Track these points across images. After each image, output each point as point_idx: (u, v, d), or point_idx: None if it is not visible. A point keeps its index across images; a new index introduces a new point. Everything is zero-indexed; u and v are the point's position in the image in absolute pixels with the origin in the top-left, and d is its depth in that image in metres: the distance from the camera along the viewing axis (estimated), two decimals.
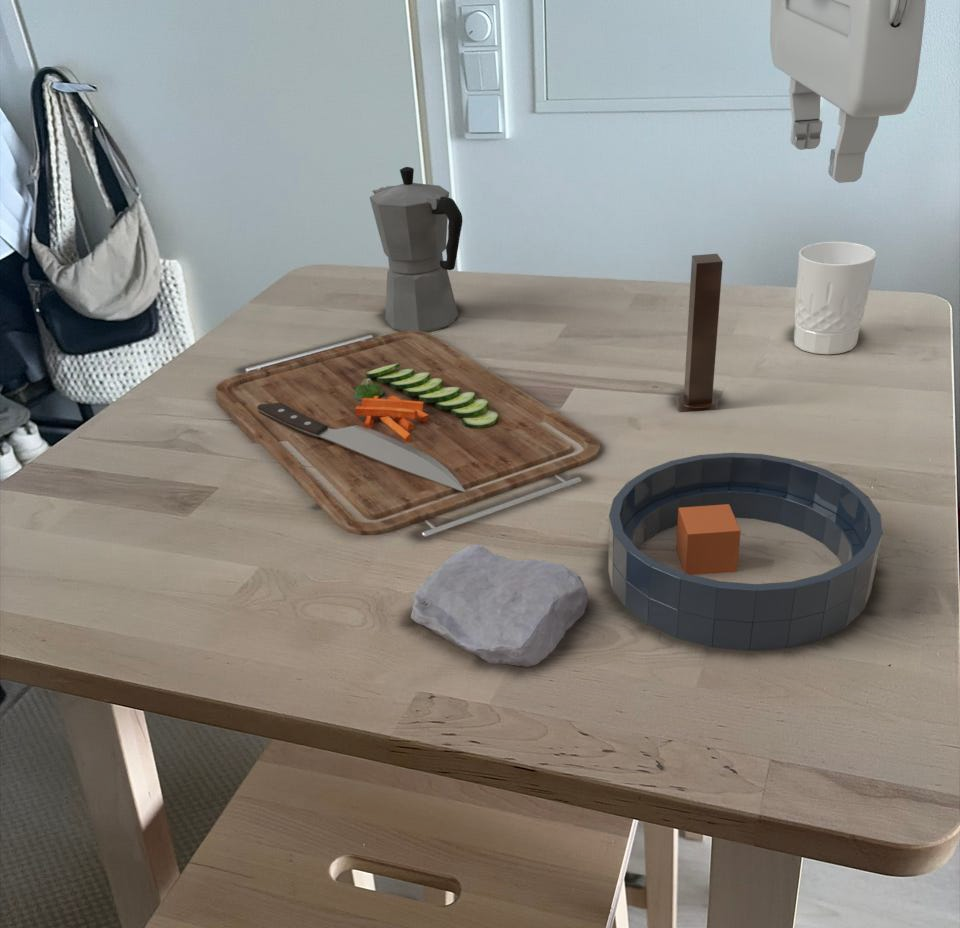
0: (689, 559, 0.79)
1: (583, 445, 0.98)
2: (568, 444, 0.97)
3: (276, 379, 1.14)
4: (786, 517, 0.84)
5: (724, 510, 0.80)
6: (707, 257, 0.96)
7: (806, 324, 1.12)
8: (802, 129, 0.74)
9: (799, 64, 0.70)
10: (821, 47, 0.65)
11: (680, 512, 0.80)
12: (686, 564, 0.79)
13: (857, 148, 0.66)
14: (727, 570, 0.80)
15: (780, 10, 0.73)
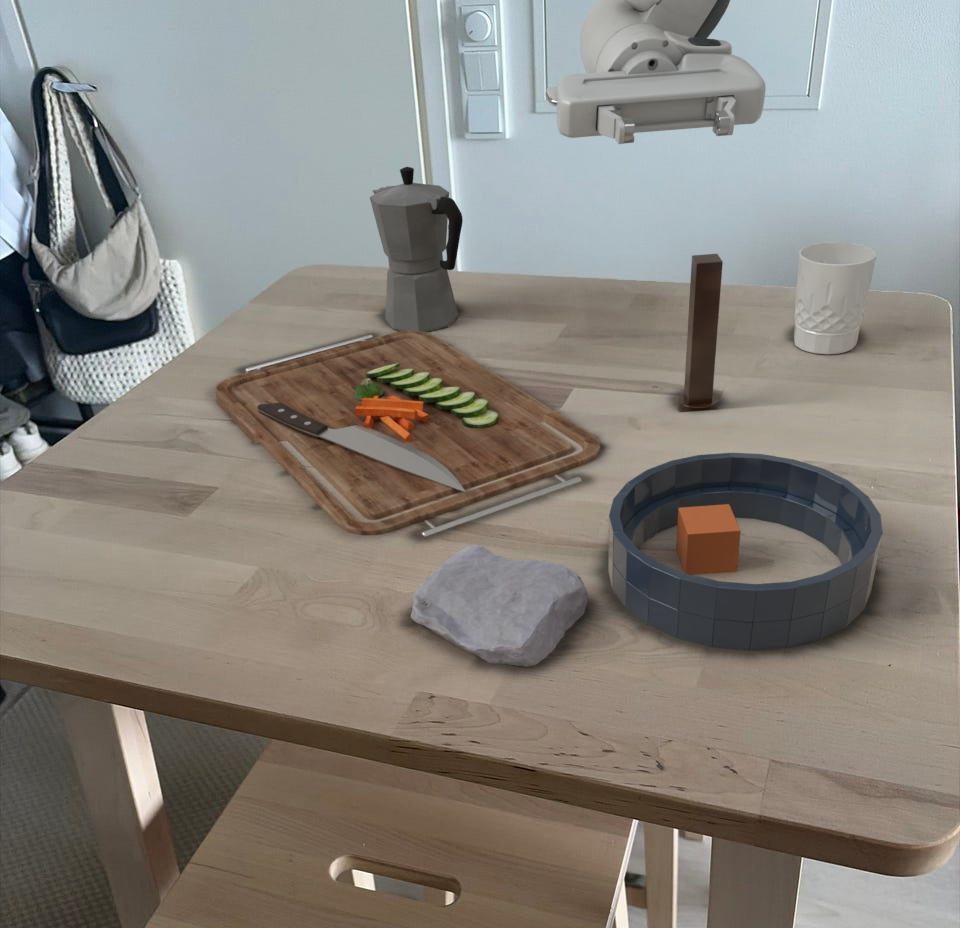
0: (689, 559, 0.79)
1: (583, 445, 0.98)
2: (568, 444, 0.97)
3: (276, 379, 1.14)
4: (786, 517, 0.84)
5: (724, 510, 0.80)
6: (707, 257, 0.96)
7: (806, 324, 1.12)
8: (715, 127, 0.97)
9: None
10: None
11: (680, 512, 0.80)
12: (686, 564, 0.79)
13: (611, 124, 0.97)
14: (727, 570, 0.80)
15: None
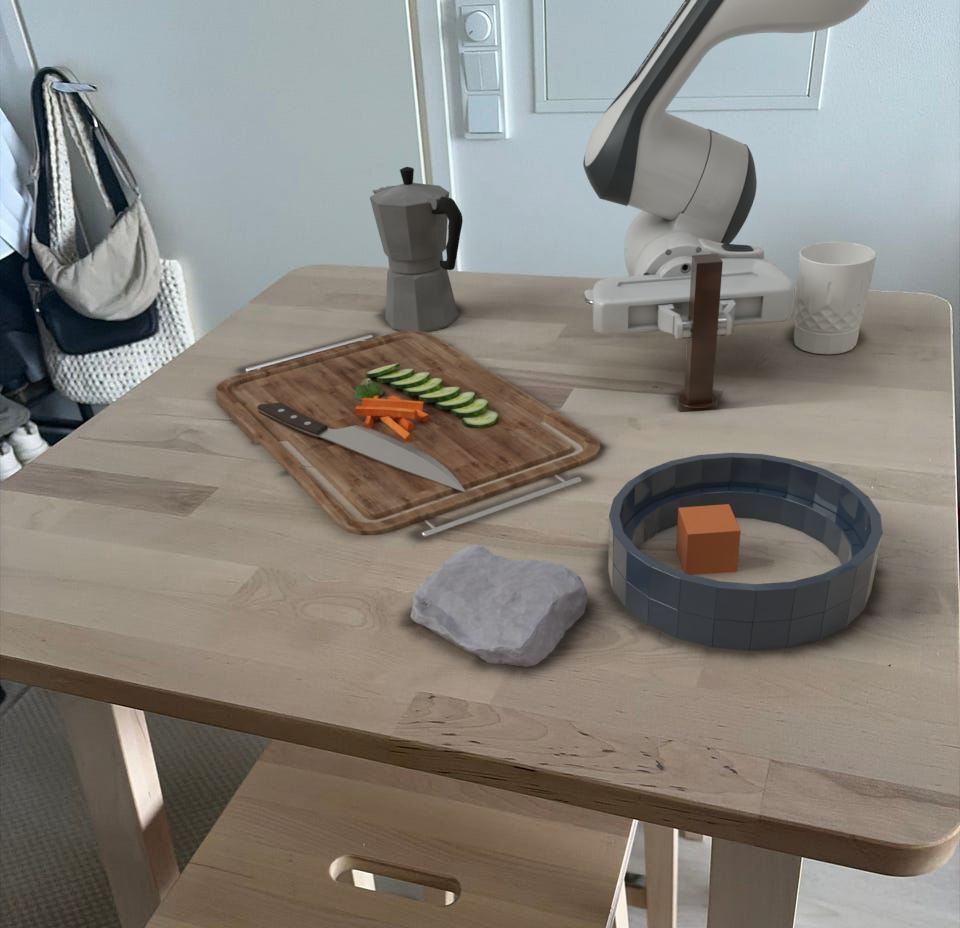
0: (689, 559, 0.79)
1: (583, 445, 0.98)
2: (568, 444, 0.97)
3: (276, 379, 1.14)
4: (786, 517, 0.84)
5: (724, 510, 0.80)
6: (707, 257, 0.96)
7: (806, 324, 1.12)
8: None
9: None
10: None
11: (680, 512, 0.80)
12: (686, 564, 0.79)
13: (670, 321, 1.00)
14: (727, 570, 0.80)
15: None
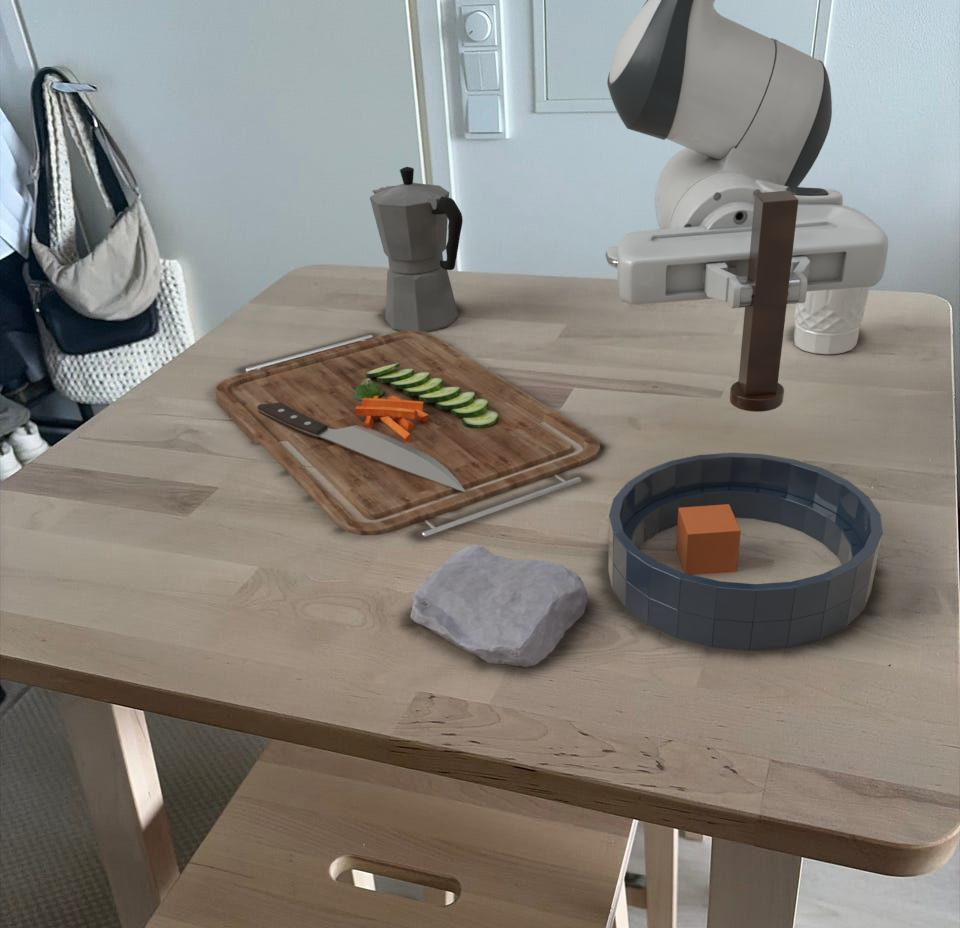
0: (689, 559, 0.79)
1: (583, 445, 0.98)
2: (568, 444, 0.97)
3: (276, 379, 1.14)
4: (786, 517, 0.84)
5: (724, 510, 0.80)
6: (776, 195, 0.70)
7: (806, 324, 1.12)
8: None
9: None
10: None
11: (680, 512, 0.80)
12: (686, 564, 0.79)
13: (723, 285, 0.75)
14: (727, 570, 0.80)
15: None
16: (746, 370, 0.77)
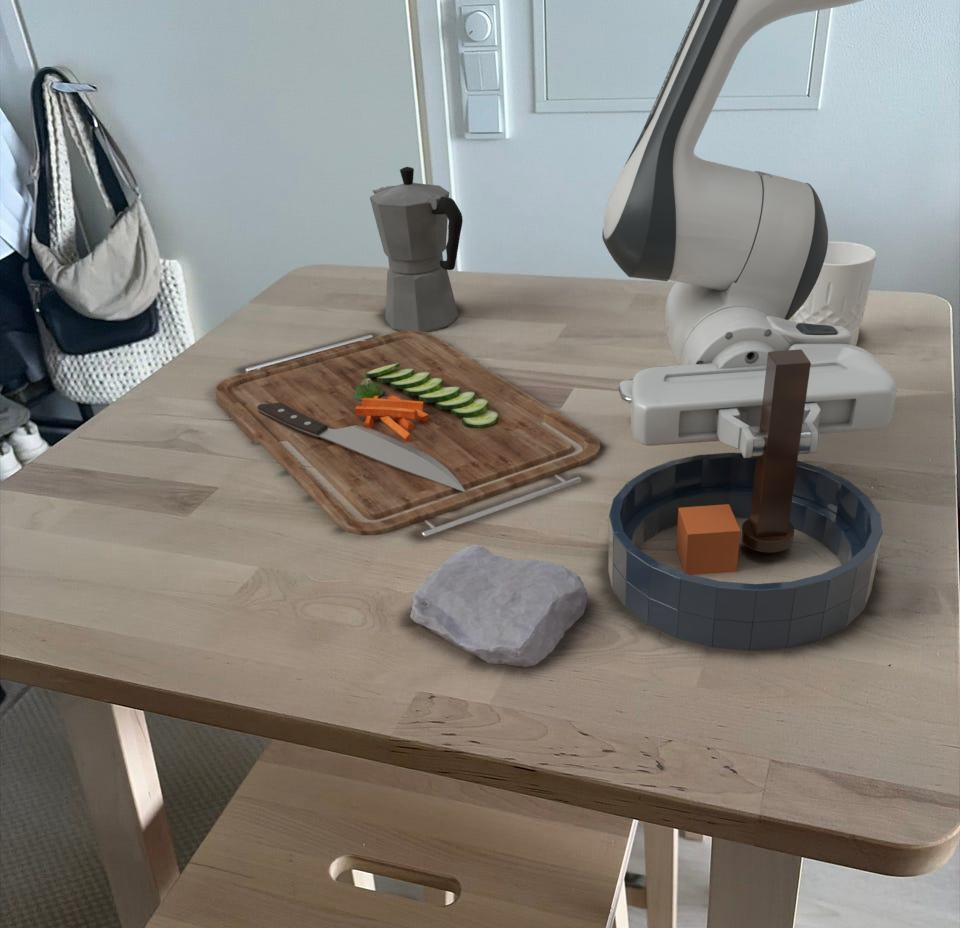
0: (689, 559, 0.79)
1: (583, 445, 0.98)
2: (568, 444, 0.97)
3: (276, 379, 1.14)
4: None
5: (724, 510, 0.80)
6: (789, 355, 0.72)
7: None
8: None
9: None
10: None
11: (680, 512, 0.80)
12: (686, 564, 0.79)
13: (736, 433, 0.77)
14: (727, 570, 0.80)
15: None
16: (757, 513, 0.79)
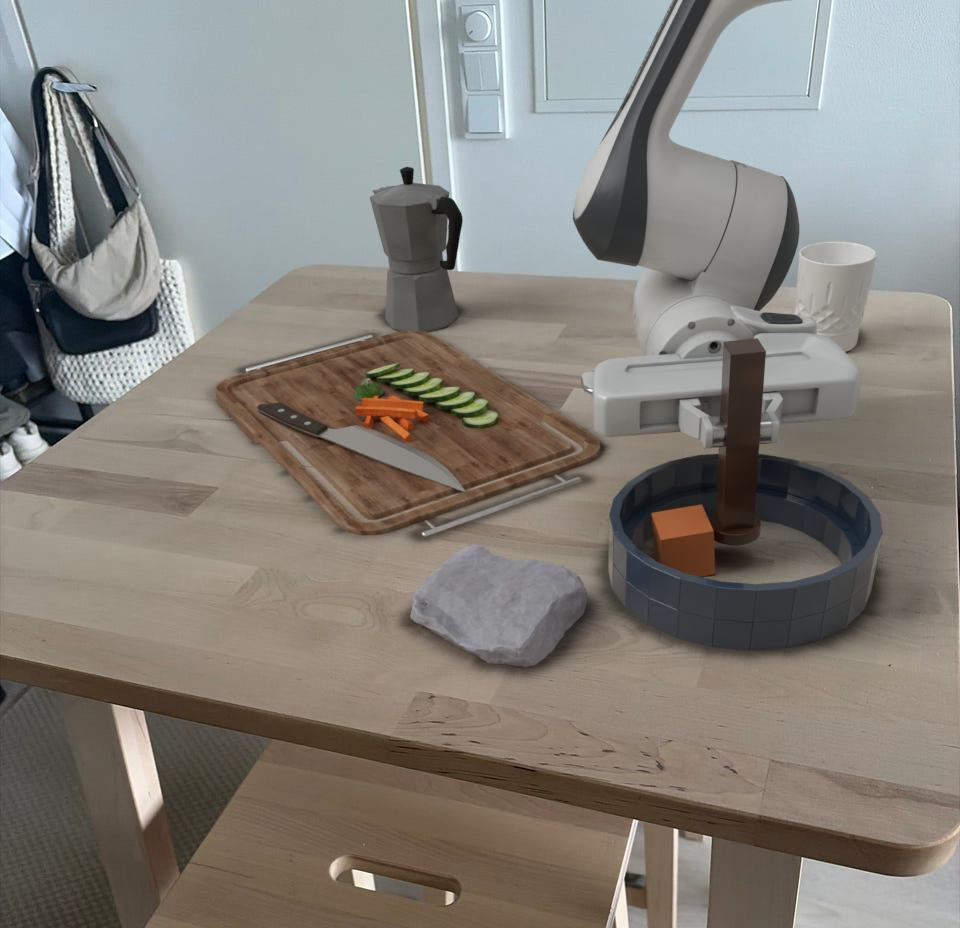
0: (665, 564, 0.79)
1: (583, 445, 0.98)
2: (568, 444, 0.97)
3: (276, 379, 1.14)
4: (786, 517, 0.84)
5: (696, 511, 0.79)
6: (744, 344, 0.71)
7: None
8: None
9: None
10: None
11: (653, 517, 0.80)
12: None
13: (696, 423, 0.75)
14: (705, 571, 0.79)
15: None
16: (722, 506, 0.77)
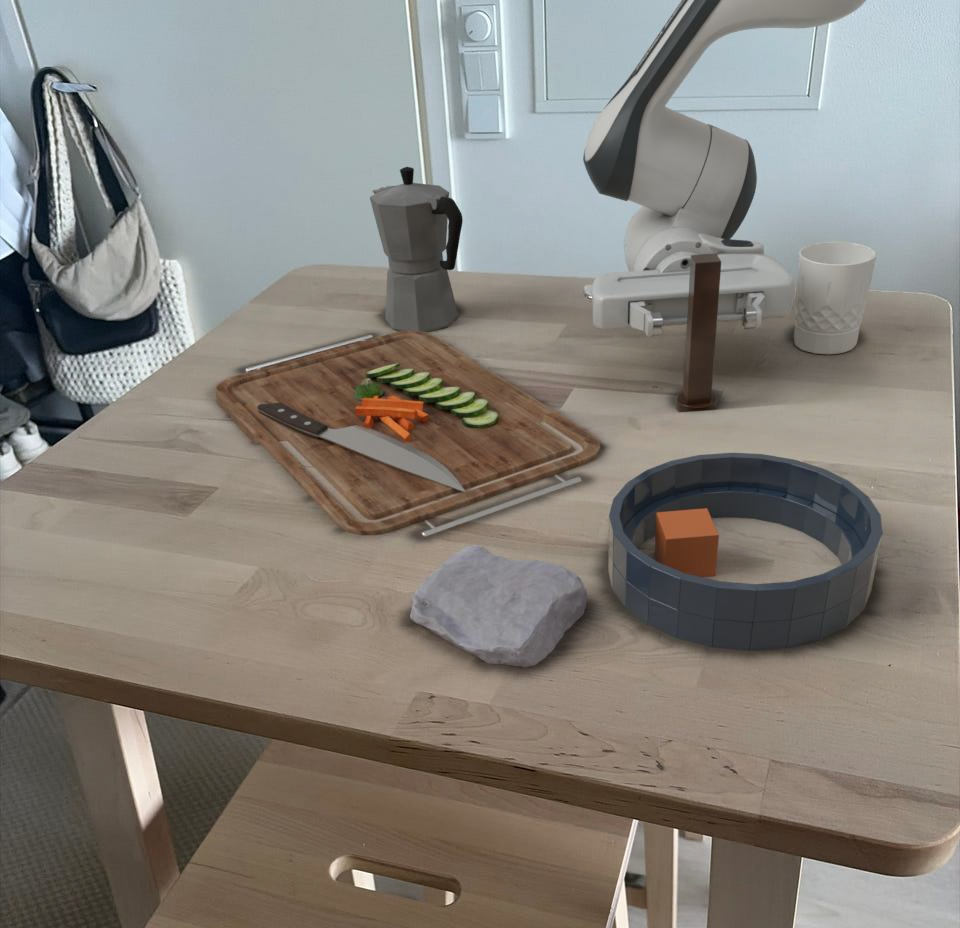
0: (667, 564, 0.79)
1: (583, 445, 0.98)
2: (568, 444, 0.97)
3: (276, 379, 1.14)
4: (786, 517, 0.84)
5: (702, 515, 0.80)
6: (706, 257, 0.96)
7: (806, 324, 1.12)
8: (744, 321, 1.00)
9: None
10: None
11: (658, 517, 0.80)
12: None
13: (641, 318, 1.00)
14: (706, 575, 0.79)
15: None
16: (687, 385, 1.02)
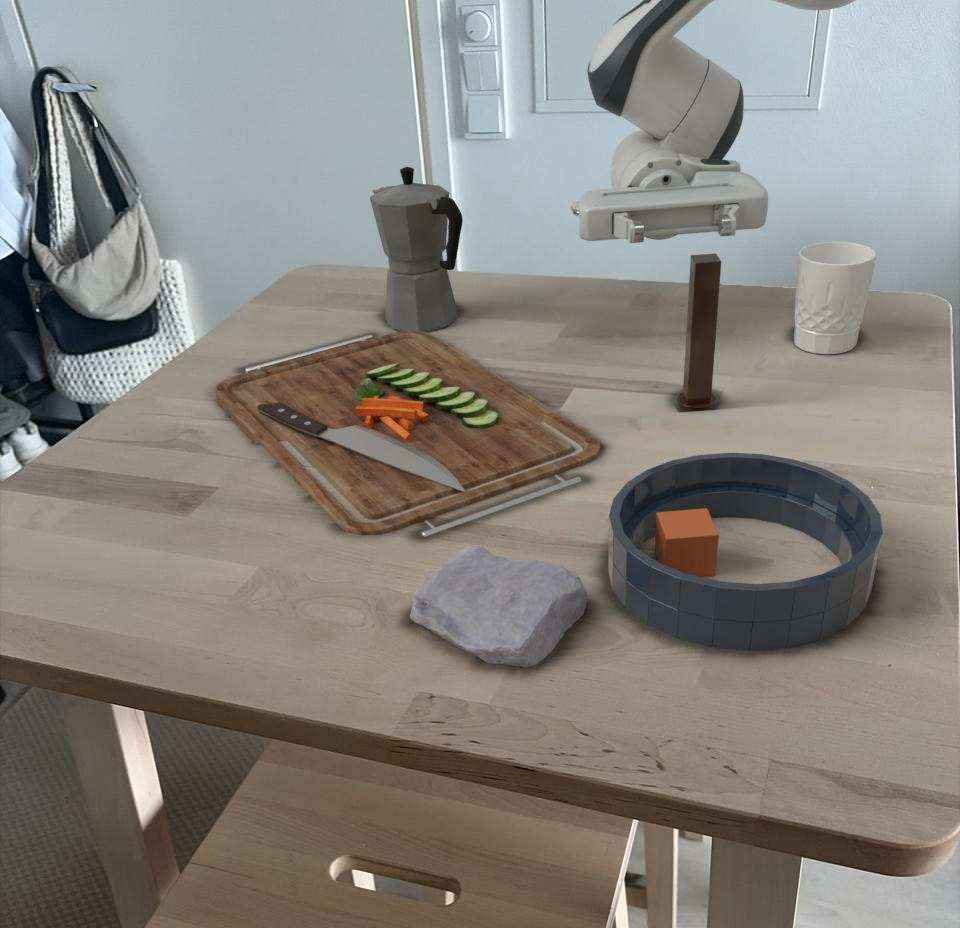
0: (667, 564, 0.79)
1: (583, 445, 0.98)
2: (568, 444, 0.97)
3: (276, 379, 1.14)
4: (786, 517, 0.84)
5: (702, 515, 0.80)
6: (706, 257, 0.96)
7: (806, 324, 1.12)
8: (720, 229, 1.07)
9: None
10: None
11: (658, 517, 0.80)
12: None
13: (624, 227, 1.07)
14: (706, 575, 0.79)
15: None
16: (687, 385, 1.02)
